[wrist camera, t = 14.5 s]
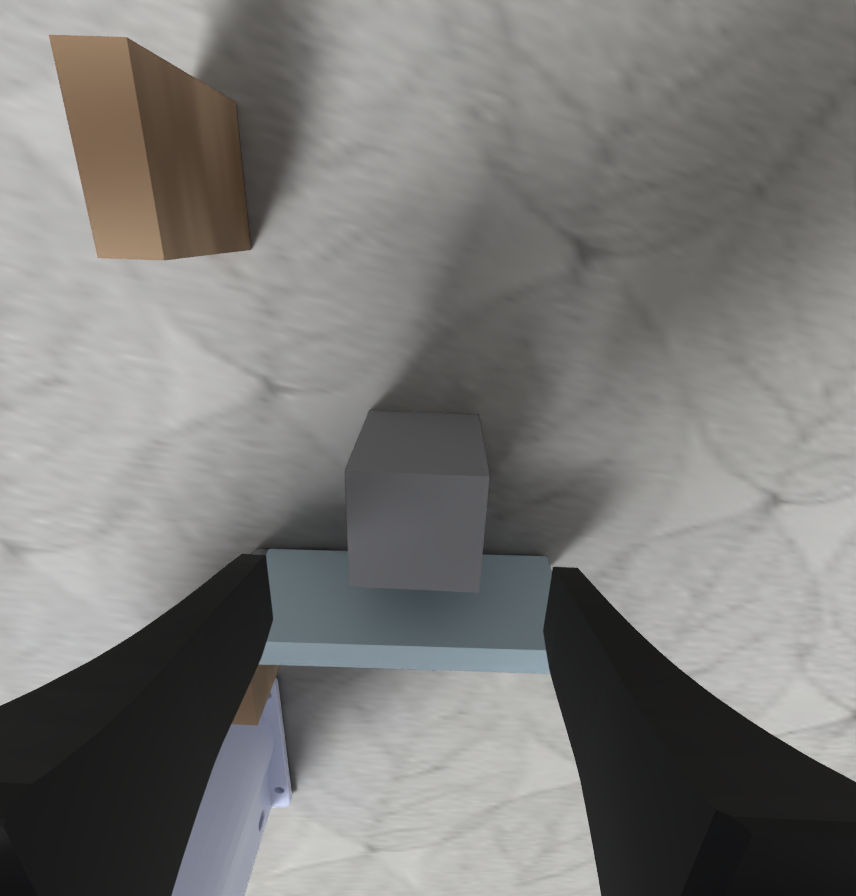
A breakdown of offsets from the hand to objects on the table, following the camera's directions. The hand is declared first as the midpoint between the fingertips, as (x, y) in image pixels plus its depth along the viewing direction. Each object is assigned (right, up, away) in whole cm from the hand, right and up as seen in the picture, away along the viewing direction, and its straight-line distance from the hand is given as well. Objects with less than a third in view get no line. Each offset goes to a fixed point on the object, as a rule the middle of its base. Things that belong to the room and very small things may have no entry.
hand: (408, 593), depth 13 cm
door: (-1, -2, +8) cm, 9 cm away
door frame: (-6, +4, +6) cm, 10 cm away
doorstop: (0, +3, +7) cm, 7 cm away
